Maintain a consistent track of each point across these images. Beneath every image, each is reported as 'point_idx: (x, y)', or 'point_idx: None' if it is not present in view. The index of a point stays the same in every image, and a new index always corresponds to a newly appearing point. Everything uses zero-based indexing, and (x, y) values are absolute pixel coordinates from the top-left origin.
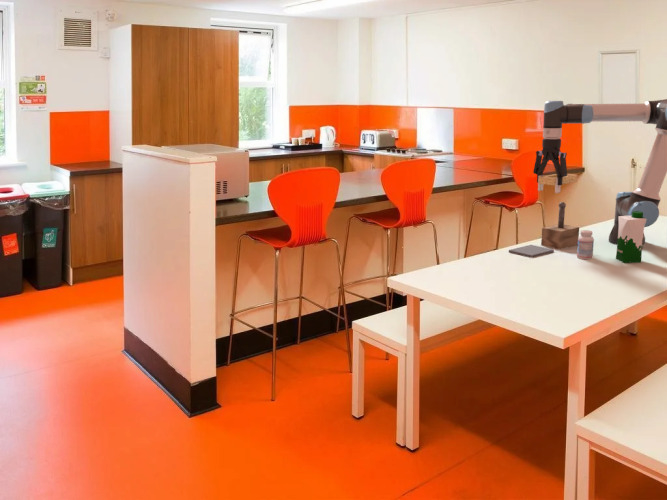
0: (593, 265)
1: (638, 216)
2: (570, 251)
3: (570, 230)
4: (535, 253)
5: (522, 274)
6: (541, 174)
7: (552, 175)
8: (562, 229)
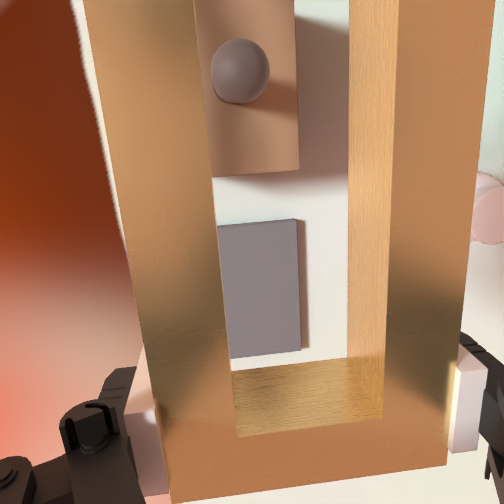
0: (499, 253)
1: None
2: (331, 154)
3: (294, 81)
4: (291, 321)
5: (403, 481)
6: (127, 451)
7: (213, 268)
8: (271, 124)
